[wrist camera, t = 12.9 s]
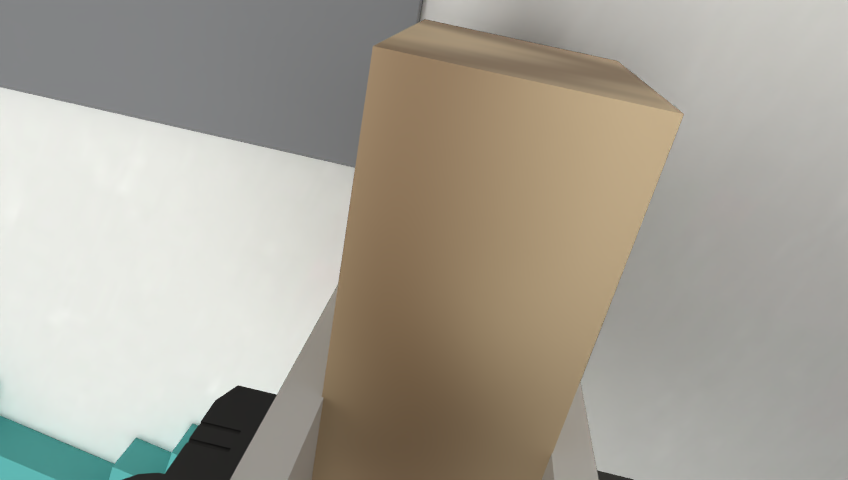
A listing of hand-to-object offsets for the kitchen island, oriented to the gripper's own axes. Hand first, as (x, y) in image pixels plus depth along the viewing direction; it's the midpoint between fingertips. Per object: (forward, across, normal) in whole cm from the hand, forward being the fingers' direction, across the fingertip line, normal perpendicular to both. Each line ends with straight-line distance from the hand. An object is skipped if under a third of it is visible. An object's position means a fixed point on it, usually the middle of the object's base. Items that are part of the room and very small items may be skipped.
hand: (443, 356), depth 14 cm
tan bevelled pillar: (+1, 0, 0) cm, 1 cm away
